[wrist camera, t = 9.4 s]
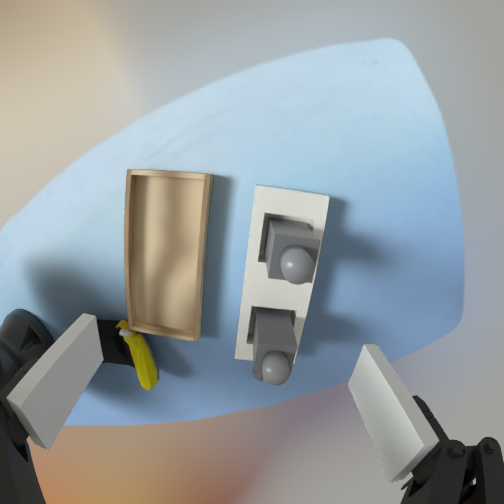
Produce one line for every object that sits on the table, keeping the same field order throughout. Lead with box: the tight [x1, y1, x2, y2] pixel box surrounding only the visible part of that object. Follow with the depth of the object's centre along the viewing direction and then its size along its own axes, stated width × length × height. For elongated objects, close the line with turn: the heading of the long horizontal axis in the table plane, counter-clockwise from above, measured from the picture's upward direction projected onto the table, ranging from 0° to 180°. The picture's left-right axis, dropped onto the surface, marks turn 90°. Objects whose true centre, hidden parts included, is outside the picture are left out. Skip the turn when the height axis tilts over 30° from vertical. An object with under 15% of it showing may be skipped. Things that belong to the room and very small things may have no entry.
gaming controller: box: [96, 320, 159, 390], centre depth 35 cm, size 15×6×10 cm
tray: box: [124, 169, 213, 342], centre depth 33 cm, size 10×21×2 cm, turn 173°
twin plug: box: [253, 306, 298, 385], centre depth 30 cm, size 4×4×12 cm
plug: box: [264, 217, 321, 285], centre depth 27 cm, size 4×4×12 cm
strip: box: [234, 184, 330, 381], centre depth 33 cm, size 8×28×4 cm, turn 173°
